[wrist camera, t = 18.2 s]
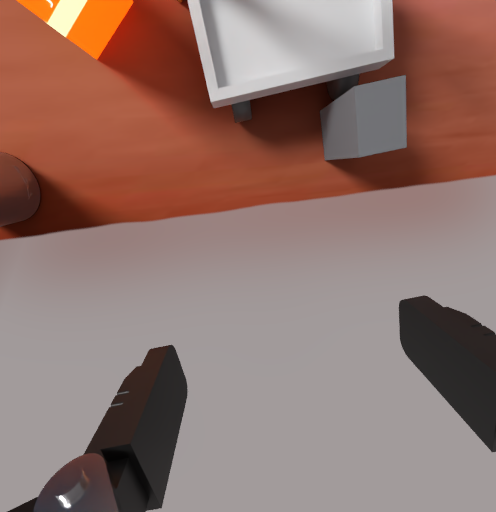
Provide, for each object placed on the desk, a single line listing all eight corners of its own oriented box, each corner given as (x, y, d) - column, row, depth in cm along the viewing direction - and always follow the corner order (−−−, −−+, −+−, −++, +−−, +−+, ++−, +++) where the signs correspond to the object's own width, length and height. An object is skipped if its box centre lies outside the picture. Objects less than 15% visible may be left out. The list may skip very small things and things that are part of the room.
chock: (324, 160, 36) (359, 157, 25) (319, 111, 34) (354, 86, 24) (358, 153, 36) (406, 147, 25) (355, 103, 34) (405, 74, 23)
